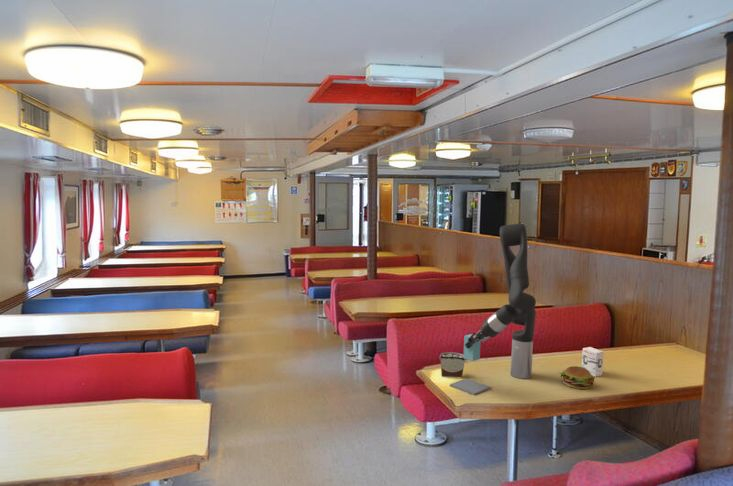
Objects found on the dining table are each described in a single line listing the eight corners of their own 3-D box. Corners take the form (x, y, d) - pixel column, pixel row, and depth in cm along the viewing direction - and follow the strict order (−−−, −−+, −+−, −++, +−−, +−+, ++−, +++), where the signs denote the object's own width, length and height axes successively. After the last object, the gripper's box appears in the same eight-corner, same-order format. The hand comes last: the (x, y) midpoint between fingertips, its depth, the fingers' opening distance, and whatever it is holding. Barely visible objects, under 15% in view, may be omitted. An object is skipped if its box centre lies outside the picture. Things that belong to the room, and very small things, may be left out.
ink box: (580, 371, 246) (582, 347, 245) (587, 369, 248) (589, 346, 247) (595, 377, 238) (596, 352, 237) (602, 375, 241) (604, 351, 239)
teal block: (470, 356, 224) (471, 334, 223) (479, 359, 220) (480, 336, 219) (463, 358, 220) (464, 335, 220) (472, 361, 217) (473, 338, 216)
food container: (464, 373, 239) (465, 352, 238) (465, 377, 233) (466, 356, 232) (437, 371, 240) (438, 351, 239) (438, 376, 234) (439, 355, 233)
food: (574, 377, 238) (575, 360, 237) (599, 387, 225) (601, 370, 225) (552, 381, 232) (553, 364, 231) (578, 392, 219) (579, 374, 218)
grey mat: (466, 379, 230) (466, 378, 230) (490, 388, 221) (490, 386, 221) (449, 386, 222) (449, 384, 222) (474, 395, 213) (474, 393, 213)
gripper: (500, 314, 217) (475, 335, 227) (480, 318, 207) (455, 341, 217) (510, 329, 214) (484, 350, 224) (490, 334, 204) (464, 356, 214)
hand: (470, 345), depth 220 cm, fingers closed on teal block, 5 cm apart
